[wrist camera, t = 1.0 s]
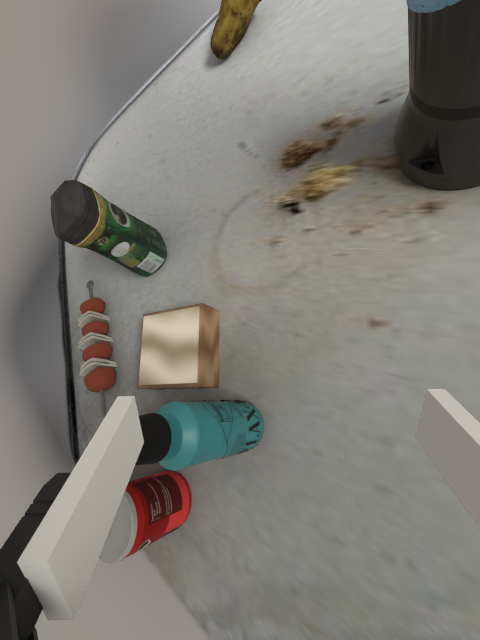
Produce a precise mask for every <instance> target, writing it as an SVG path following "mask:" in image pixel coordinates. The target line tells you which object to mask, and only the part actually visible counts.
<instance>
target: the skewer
mask: <svg viewBox="0 0 480 640" xmlns="http://www.w3.org/2000/svg"><path fill="white" fill-rule="evenodd" d="M90 284H91V286H93V285H94V282H93V281H89V282H88V283H87V288H88V289H89V294H90V299H89V300H87V301H85V302H84V303H82V304H81V306H80V310H81V313H82V314H83V315H82V316H81V317H80V318H79V320H78V327H81V328H83V329H82V334H83V338H82V339H81V340H80V341H79V349H80V350H84V351H83V361H85V363H84V364H83V365H82V366H81V367H80V373H79V375H80V376H82V377H85V378H84V381H85V384H86V387H87V388H88V389H89V390H90V391H93V392H100V399H101V408H102V414H103V417H104V418H105V415H106V409H105V400H104V391H105V390H107V389H109V388H110V387H112V386H113V384H114V382H115V376H116V372H115V370H114V369H113V368H114V367H118V365H115V364H116V362H114V361H109V360H107V359H109V358H110V356H111V355H112V347H111V345H110V344H109V343H110V342H113V340H111V339H112V337H108V336H105V335H106V334H107V333H108V331H109V327H108V325H107V324H106V323H105V322H106V321H109V319H108V316H105V315H103V314H102V313H103V311H104V308H105V303H104V302H103V300H101V299H99V298H93V292H92V287H90Z"/></svg>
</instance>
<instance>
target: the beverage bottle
mask: <svg viewBox="0 0 480 640" xmlns="http://www.w3.org/2000/svg"><path fill="white" fill-rule="evenodd" d="M203 401H204V402H198V401H197V402H194V401H193V402H179V401H173V402H169V403H166V404H164V405H163V406H162V407H160V408H159V409H158V410H157V412H156V413H150V414H146V415H141V416H139V420H140V425H141V430H142V435H143V439H144V444H143V446H142V449H141V451H140V454H139V456H138V459H137V461H136V464H135V465H144V464H154V463H157V462H158V464H159V465H161V466H162V467H163V468H165V469H167V470H171V471H178V470H182V469H184V468H186V467H189V466H192V465H196V464H199V463H203V462H206V461H209V460H213V459H216V460H217V459H218V458H221V457H223V458H224V457H225V456H229V455H232V454H235V455H236V454H237V453H238V454H240V453H242V451H243V452H246V451H248V450H249V449H251V448H252V449H253V448H254V446H256V445H258V444H257V443H258V442H260V440H261V438H262V435H263V431H264V423H263V418H262V415H261V413H260V412H259V410H258V409H257V408H256V407H255V406H254V405H252V404H251V403H249V402H245V401H240V400H235V401H233V400H232V401H230V400H229V401H227V400H226V401H225V400H222V401H210V400H209V401H210V402H209V401H206V400H203ZM245 450H246V451H245ZM229 457H230V456H229ZM219 460H220V459H219Z"/></svg>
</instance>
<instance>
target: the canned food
mask: <svg viewBox="0 0 480 640" xmlns="http://www.w3.org/2000/svg"><path fill="white" fill-rule="evenodd" d="M190 508H191V492H190V488H189V485H188V483H187V481H186V480H185V478H184V477H183V476H182V475H181V474H179V473H177V472H173V471H165V472H161V473H158V474H154V475H151V476H148V477H144V478H141V479H137V480H134V481H130V482H128V484H127V487H126V490H125V492H124V495H123V497H122V500H121V502H120V505H119V507H118V510H117V513H116V515H115V518H114V520H113V523H112V525H111V528H110V530H109V533H108V536H107V538H106V541H105V543H104V546H103V548H102V551H101V553H100V556H99V558H100V559H101V560H103V561H104V562H106V563H114V562H117V561H121V560H122V559H124V558H126V557H128V556H130V555H132V554H134V553H135V552H137V551H139V550H141V549H142V548H144V547H146V546H148V545H149V544H151V543H153V542H155V541H157V540H158V539H160V538H162V537H164V536H165V535H167V534H169V533H171V532H173V531H174V530H176V529H178V528H179V527H180V526H181V525H182V524H183V523H184V521H185V520H186V519H187V517H188V515H189V512H190Z"/></svg>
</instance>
